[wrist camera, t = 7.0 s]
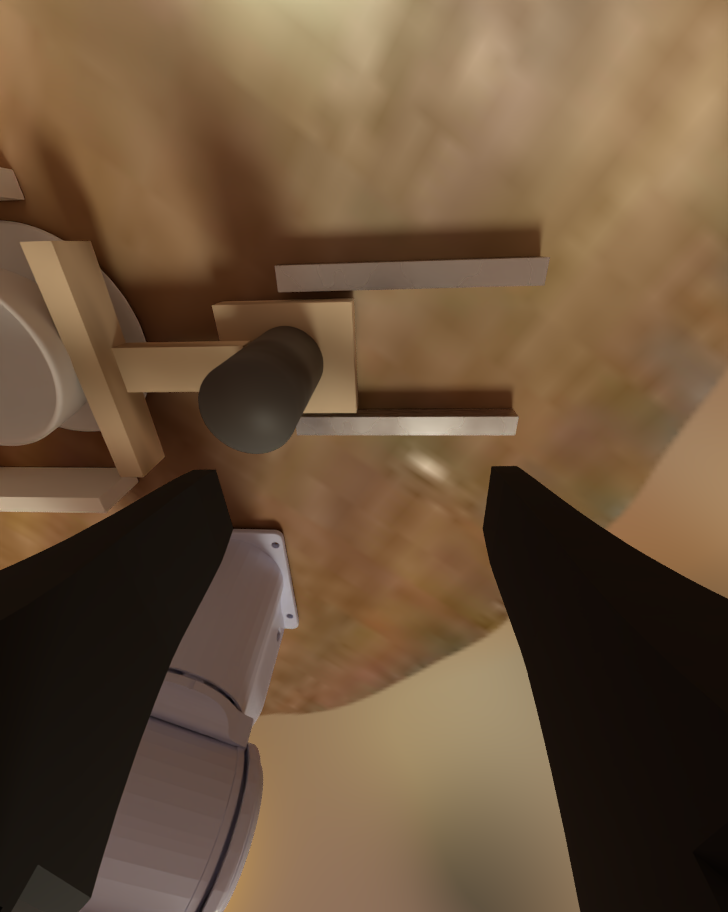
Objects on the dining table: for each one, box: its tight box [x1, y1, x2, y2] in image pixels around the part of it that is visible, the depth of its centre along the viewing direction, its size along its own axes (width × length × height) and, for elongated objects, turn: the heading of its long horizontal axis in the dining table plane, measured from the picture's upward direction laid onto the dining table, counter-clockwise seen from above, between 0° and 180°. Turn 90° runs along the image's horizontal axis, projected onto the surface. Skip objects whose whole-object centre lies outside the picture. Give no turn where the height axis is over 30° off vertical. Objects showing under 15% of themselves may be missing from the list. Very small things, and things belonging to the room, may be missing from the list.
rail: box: [275, 257, 550, 435], centre depth 17 cm, size 8×11×1 cm
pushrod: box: [20, 241, 358, 477], centre depth 15 cm, size 10×12×7 cm
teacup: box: [0, 220, 147, 446], centre depth 17 cm, size 10×10×5 cm
